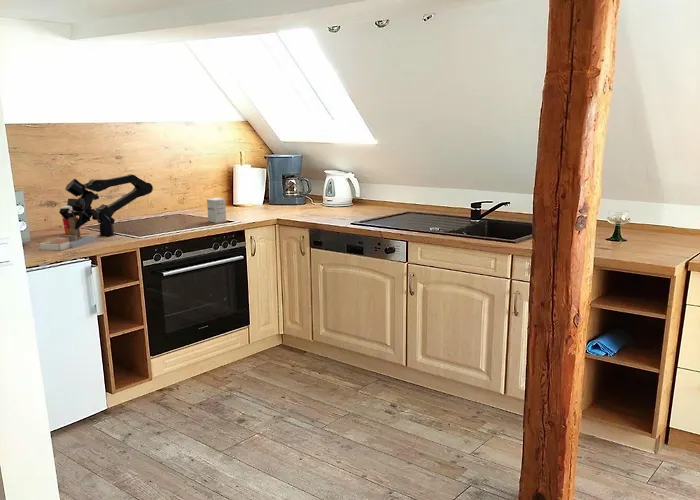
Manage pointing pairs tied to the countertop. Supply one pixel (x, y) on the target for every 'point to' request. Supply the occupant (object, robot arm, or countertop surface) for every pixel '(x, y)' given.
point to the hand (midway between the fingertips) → (72, 228)
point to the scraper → (73, 230)
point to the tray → (53, 246)
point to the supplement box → (216, 210)
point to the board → (79, 241)
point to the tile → (62, 240)
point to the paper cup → (66, 221)
